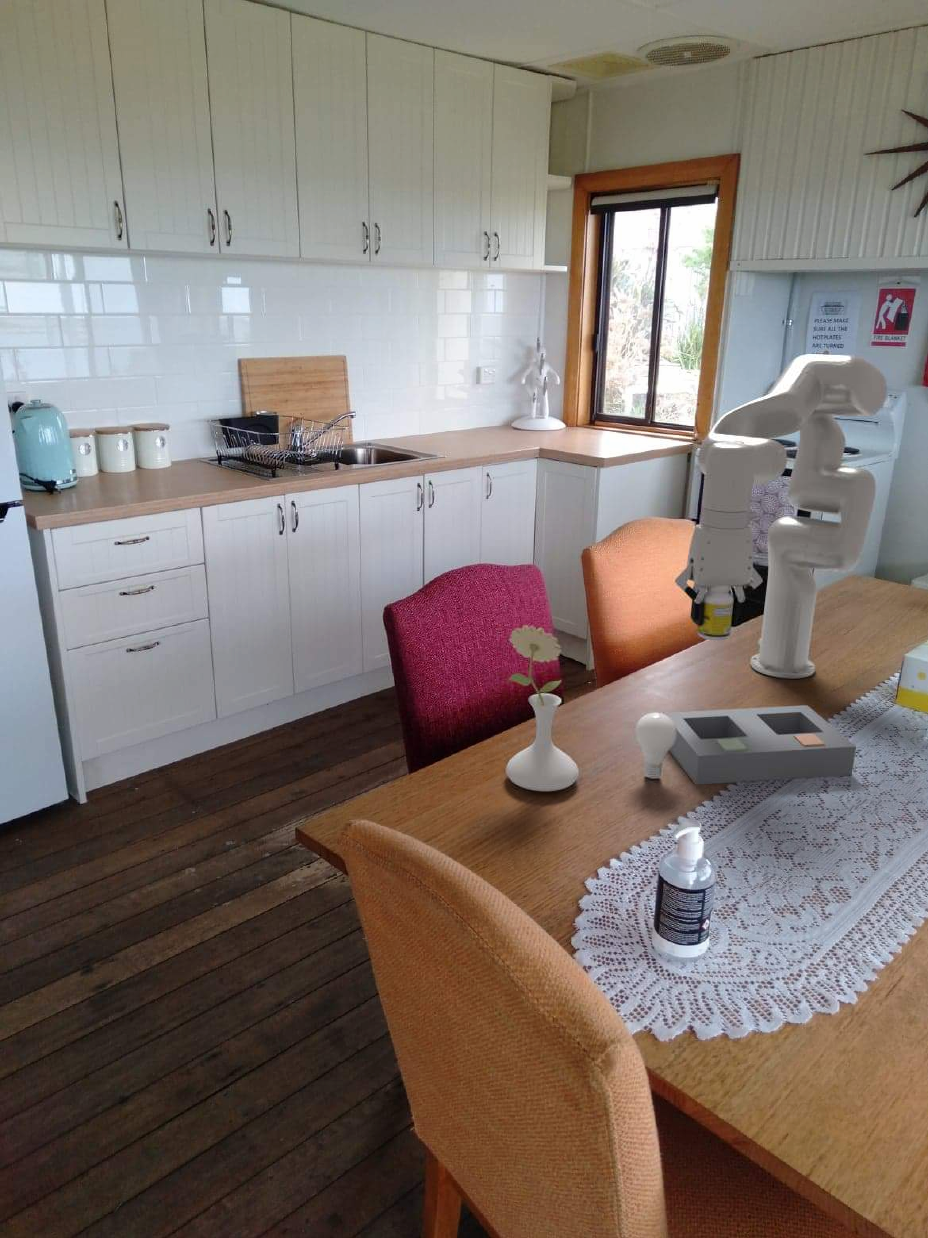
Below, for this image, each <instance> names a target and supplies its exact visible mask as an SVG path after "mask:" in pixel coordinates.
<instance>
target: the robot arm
mask: <svg viewBox="0 0 928 1238" xmlns="http://www.w3.org/2000/svg"><path fill="white" fill-rule="evenodd" d="M883 374H884V373H882V372H881V371H880V370H879V368H877V367H876V366H874V365H873V364H871V363H870V362H869V361H867V360H866V359H864V358H862V357H859V356H856V355H850V354H849V355H848V354H823V353H822V354H820V353H808V354H803V355H799V356H796V357H795V358H794V359H793V360H791V361H790V362H789V363H788V365H786V367H785V369H784V370H783V372H781V374H780V375H779V376H778V378H777V379H776V381H775V382H774V383H773V385H772V386H771V388H770V389H769V390H768V391H767V393H766V394H765V396H763V397H760V398H757V399H755V400H752V401H749V402H748V403H745V404H743V405H741V406H739V407H737V408H734V409H733V410H730V411H728V412H727V413H725V414H724V415H722V416H721V417H720V418H719V419H718V420H717V421H716V422H715V424H714V425H713V426H712V428H711V429H710V430H709V431H708V433H707V435H706V436H705V437H704V439H703V441H702V443H701V445H700V447H699V451H698V455H697V456H698V457H697V463H698V468H699V469H700V471H701V473H702V474H703V475H705V477H704V478H705V479H704V486H703V499H702V506H701V507H702V508H701V510H702V511H701V517H700V518H701V521H700V524H696V525H695V528H694V529H693V530H694V531H693V533H692V537H691V540H690V545H689V549H688V555H687V562H686V567H685V569H683V571H682V572H681V573H680V574H679V575H678V576H677V577H676V578H675V579H674V583H675V585H676V586H678V587H679V588H680V589H681V590H682V591H683V592H684V593H685V594H686V595H687V596H688V597H689V599H691V607H690V618H691V621H692V622H693V623H694V624H695V625H696V626H697V627H698V626H702V625H703V618H704V608H705V605H704V603H702V600H703V597H704V595H705V593H706V591H707V588H708V587H717V586H729V587H730V594H731V595H732V596H733V610H732V620H731V625H733V626H737V625H738V620H739V619H740V618H741V611H742V610H741V609H742V603H743V602H745V601H746V598H747V597H748V596H749V595H750V594H751V593H752V592H753V590H755V589H756V588H757V587H759V586H760V585H761V584H762V583H763V580H764V579H763V578H762V577H761V575H760V574H759V573H758V572H757V570H756V569H755V568H754V566H753V564H754V540H753V531H752V527H751V526H750V521H752V520H756V519H757V518H758V514H757V513H758V512H757V511H753V510H752V509H751V503H752V502H751V500H752V492H753V485H768V484H772V483H774V482H776V481H777V480H779V478H780V477H782V475H783V473H785V470H786V467H787V463H788V455H787V454H788V453H787V451H786V449H785V447H784V446H783V444H782V443H780V442H779V441H777V440H774V439H775V438H779V437H781V438H782V437H786V436H788V435H791V434H794V433H797V432H798V431H799V442H798V446H797V450H796V455H795V459H794V463H793V466H792V471H791V475H790V480H789V483H788V487H787V488H788V489H787V501H788V503H789V505H790V506H791V507H793V508H795V509H797V510H801V511H805V512H810V513H817V514H825V515H833V516H837V517H840V521H832V520H831V521H830V520H824V519H820V518H813V517H806V516H799V515H797V516H796V515H788V516H782V517H780V518H778V519H776V520H774V521H773V522H772V524H771V525H770V527H769V530H768V532H767V533H768V534H767V539H766V541H767V542H766V543H767V546H766V547H767V555H768V556H767V559H768V570H767V573H768V575H767V582H766V583H767V584H766V592H765V601H764V607H763V608H764V611H763V619H762V626H761V635H760V638H759V639H758V640H757V644H758V645H759V651H758V652H759V653H757V654H756V653H755V654H754V655H752V656H751V657H750V666H751V668H752V669H754V670H755V671H757V672H758V673H761V674H763V675H767V676H769V677H772V678H773V677H774V678H780V679H790V680H791V679H803V678H807V677H810V676H812V675H813V674H814V673H815V671H816V670H815V669H816V666H815V664H814V663H813V662H812V661H811V660H810V659H809V654H810V653H809V651H810V645H811V637H812V630H813V623H814V616H815V615H814V614H815V610H816V609H815V607H816V599H817V593H818V586H817V582H816V580H815V578H814V575H813V573H812V571H811V569H813V570H814V569H815V570H820V571H826V572H833V573H842V574H844V573H846V574H847V573H849V572H851V571H853V570H854V569H855V568H856V566H857V565H858V563H859V560H860V557H861V555H862V551H863V547H864V544H865V540H866V535H867V531H868V528H869V527H868V526H869V524H870V520H871V515H872V511H873V507H874V503H875V498H876V491H877V490H876V489H877V488H876V487H877V486H876V479H875V477H874V475H873V473H872V472H871V471H870V470H869V469H868V470H867V469H865V468H862V467H857V466H848V465H842V459H843V457H844V456H843V455H844V452H845V447H846V437H845V434H844V431H843V429H842V428H841V426H840V424H839V423H838V421H837V420H836V419H835V417H834V416H847V417H849V416H850V417H861V418H866V417H868V418H869V417H872V416H875V415H876V414H878V412H880V410H881V408H883V406H884V403H885V400H886V397H887V382H886V381H887V380H886V378H885V376H884V375H883ZM688 581H692V582H693V583H694V584H693V586H692V587H691V585H689V584H688Z"/></svg>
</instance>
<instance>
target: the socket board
mask: <svg viewBox="0 0 928 1238" xmlns="http://www.w3.org/2000/svg"><path fill="white" fill-rule="evenodd" d="M662 714H665V715H666V716H668V717H669V718H670V719H671V720H672V721H673V722H674V724H675V726H676V730H677V737H676V741H675V743H674V745H673V746H672V747H671V748H670V750H669V751H670V753H671V755H672V756H673V757H674V758H675V760H676V761H677V762H678V763H679V765H680V766H681V768H682V769H683V770H684V772H685V774H687V775H688V777H689V778H690V779H691V780H692V782H693V784H694V785H696V786H698V785H711V784H713V785H714V784H725V783H726V784H727V783H728V784H731V783H743V782H742V781H747V782H756V781H758V782H760V781H774V780H775V781H776V780H791V779H806V778H807V779H809V778H821V777H823V778H824V777H825V778H826V777H838V776H851V775H853V770H854V769H853V768H854V763H855V758H856V757H855V756H856V751H857V750H856V749H857V746H856V745H855V744H854V743H853V742H851V740H849V739H848V738H847V737H846V736H845V735H843V734H842V733H841V732H840V731H839V730H837V729H836V728H835V727H834V726H832V725H831V724H830V722H828V721H827V720H826V719H824V718H823V717H822V716H821V715H820V714H818V713H817V712H816V711H814V710H813V708H812V707H810V706H809V705H807V704H806V705H788V706H785V705H784V706H768V707H766V706H765V707H750V708H749V707H747V708H746V707H745V708H734V709H733V708H732V709H731V708H730V709H729V708H728V709H714V710H713V709H711V710H698V711H697V710H693V711H676V712H675V711H674V712H672V711H671V712H663V713H662Z"/></svg>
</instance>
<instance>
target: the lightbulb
mask: <svg viewBox="0 0 928 1238" xmlns="http://www.w3.org/2000/svg"><path fill="white" fill-rule="evenodd" d="M634 736H635V740H636V743H637V744H638V746H639V748H640V749H641V750H642V757H643V760H644V768H643V770H644V771H643V775H644V776H645V777H647V778H648V779H650V780H655V779H658V778H660V777H661V776H662V767H663V762H664V760H665V757H666V755H667V754H668V752H669V751H670V748H671V747H672V746H673V745H674V743H675V741H676V737H677V730H676V726H675V724H674V722H673V721H672V720H671V719H670V718H669V717H668V716H666V715H665V714H663V713H661V712H656V711H655V712H650V713H647V714H645V715H643V716H642V717H641V718H639V720H638V722H637V723H636V725H635V730H634Z"/></svg>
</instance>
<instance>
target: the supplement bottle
mask: <svg viewBox="0 0 928 1238" xmlns="http://www.w3.org/2000/svg"><path fill="white" fill-rule="evenodd" d="M702 603H704V605H705V608H704V618H703V625H702V626H698V625H697V634H698V636H699V637H700V638H703V639H705V640H708V641H725V640H727V639H729V638H730V636H731V630H732V629H731V628H732V623H731V620H732V610H733V596H732V594H731V590H730V587H729V586H717V587H708V588H707V590H706V593H705V595H704V597H703V600H702Z"/></svg>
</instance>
